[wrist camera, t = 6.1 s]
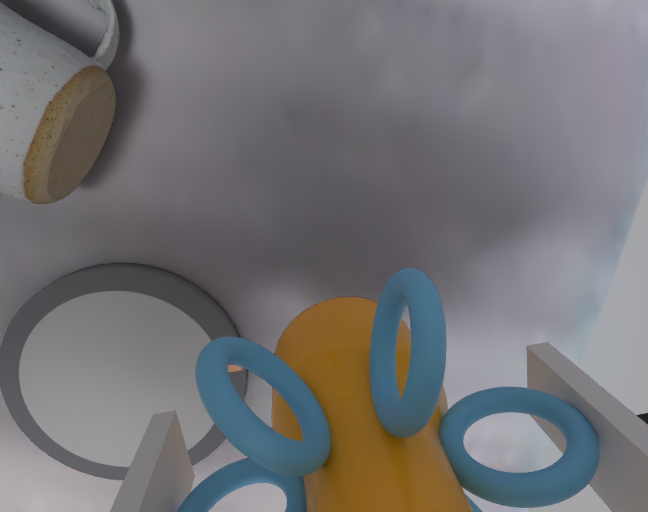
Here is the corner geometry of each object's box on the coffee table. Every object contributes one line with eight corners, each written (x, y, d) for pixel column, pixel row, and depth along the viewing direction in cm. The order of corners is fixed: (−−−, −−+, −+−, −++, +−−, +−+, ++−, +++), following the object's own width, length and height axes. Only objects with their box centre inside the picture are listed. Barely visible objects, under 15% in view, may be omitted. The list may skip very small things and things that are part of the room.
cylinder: (146, 366, 18) (-341, 1257, 4) (316, 169, 17) (544, 457, 2) (364, 509, 21) (536, 1296, 7) (525, 355, 20) (1171, 967, 5)
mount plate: (53, 484, 30) (42, 500, 28) (-25, 285, 26) (-43, 294, 24) (265, 445, 30) (264, 460, 29) (220, 244, 26) (216, 251, 25)
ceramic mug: (89, 202, 25) (8, 232, 18) (-66, 130, 23) (-229, 129, 16) (167, 17, 23) (111, -38, 15) (2, -76, 21) (-148, -187, 14)
